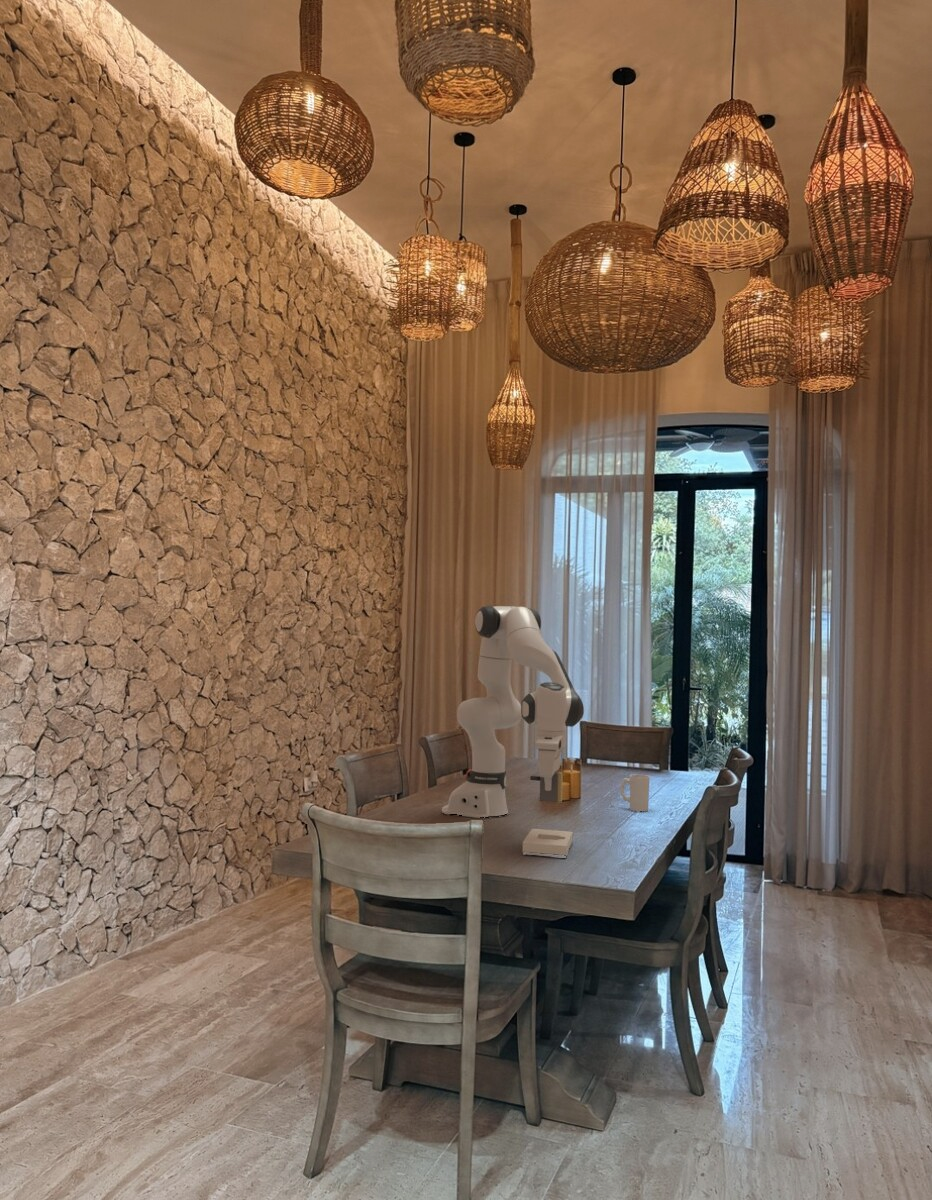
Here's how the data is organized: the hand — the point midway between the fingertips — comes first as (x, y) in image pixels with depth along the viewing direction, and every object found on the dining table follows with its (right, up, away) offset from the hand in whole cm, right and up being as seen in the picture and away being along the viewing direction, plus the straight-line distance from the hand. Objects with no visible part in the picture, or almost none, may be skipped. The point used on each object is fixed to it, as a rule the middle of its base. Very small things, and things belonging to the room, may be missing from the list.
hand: (549, 788), depth 258 cm
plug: (0, -3, 0) cm, 3 cm away
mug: (+35, -20, +60) cm, 73 cm away
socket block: (0, -17, 0) cm, 17 cm away
